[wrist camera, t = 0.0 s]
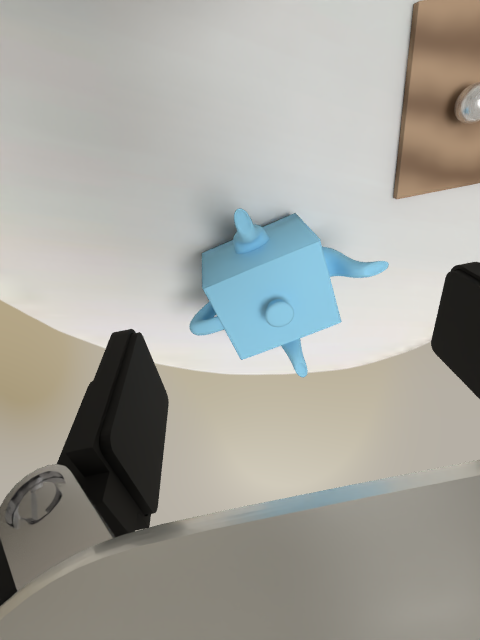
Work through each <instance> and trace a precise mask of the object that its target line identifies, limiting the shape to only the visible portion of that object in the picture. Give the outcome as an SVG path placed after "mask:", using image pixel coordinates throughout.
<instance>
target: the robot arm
mask: <svg viewBox="0 0 480 640" xmlns="http://www.w3.org/2000/svg"><path fill="white" fill-rule="evenodd" d="M431 346H432V349H433V351H434V352H435V354H436V355H437V356H438V357H439V358H440V359H441V360H442V361H443V362H444V363H445V364H446V365H447V366H448V367H449V368H450V369H451V370H452V371H453V372H454V373H455V374H456V375H457V376H458V377H459V378H460V379H461V380H462V381H463V382H464V383H465V384H466V385H467V386H468V388H470V390H472V391H473V393H474V394H475V395H476V396H477V397H478V398H479V399H480V263H479V262H472V263H467V264H462V265H456V266H454V267H453V268H452V269H451V272H449V273H448V274H447V275H446V278H445V283H444V287H443V292H442V296H441V301H440V305H439V309H438V314H437V318H436V323H435V327H434V332H433V336H432V340H431ZM167 414H168V396H167V393H166V390H165V388H164V385H163V383H162V381H161V378H160V376H159V374H158V371H157V369H156V366H155V364H154V362H153V359H152V357H151V354H150V352H149V350H148V347H147V345H146V343H145V340H144V338H143V336H142V334H141V333H140V332H139V333H135V331H134V330H133V329H129V330H124V331H119V332H114V333H112V335H111V337H110V340H109V342H108V345H107V347H106V350H105V352H104V355H103V357H102V360H101V363H100V365H99V368H98V370H97V373H96V375H95V378H94V380H93V381H92V382H91V383H90V384H89V386H88V388H87V391H86V393H85V396H84V398H83V400H82V403H81V406H80V408H79V410H78V413H77V415H76V418H75V420H74V423H73V425H72V428H71V430H70V433H69V435H68V438H67V440H66V442H65V445H64V447H63V450H62V453H61V455H60V457H59V460H58V462H57V464H55V465H47V466H45V467H42V468H39V469H37V470H35V471H34V472H32V473H30V474H29V475H27V476H26V477H24V478H23V479H22V480H21V481H20V482H18V483H17V484H16V485H15V486H14V488H13V489H12V490H11V491H10V492H9V493H8V495H7V496H6V497H5V499H4V501H3V503H2V504H1V506H0V640H480V460H477V461H472V462H468V463H462V464H457V465H452V466H447V467H441V468H437V469H431V470H426V471H421V472H415V473H411V474H405V475H400V476H395V477H390V478H385V479H380V480H375V481H369V482H365V483H359V484H354V485H349V486H344V487H339V488H334V489H329V490H324V491H319V492H314V493H309V494H304V495H299V496H294V497H289V498H285V499H279V500H274V501H269V502H264V503H259V504H255V505H249V506H245V507H239V508H234V509H229V510H225V511H220V512H216V513H212V514H207V515H202V516H197V517H193V518H188V519H184V520H179V521H175V522H170V523H166V524H161V525H157V526H154V527H150V528H149V525H150V517H151V514H152V513H155V512H156V511H157V507H158V499H159V489H160V480H161V471H162V470H161V469H162V460H163V451H164V442H165V432H166V423H167ZM145 528H146V529H145ZM140 529H143V530H140ZM135 530H139V531H135Z"/></svg>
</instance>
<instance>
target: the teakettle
mask: <svg viewBox="0 0 480 640" xmlns="http://www.w3.org/2000/svg"><path fill="white" fill-rule="evenodd" d="M234 221H235V226H236V229H237V232H236V233H235V235H234V238H233V240H231V241H229V242H227V243H224V244H222V245H220V246H217V247H215V248H213V249H210V250H208V251H206V252H203V253H202V288H203V290H204V292H205V294H206V296H207V297H208V299H209V302H208V303H207V304H206V305H205V306H204V307H203V308H202V309H201V310H200V311H199V312H198V313H197V314H196V315H195V316H194V318H193V319H192V321H191V323H190V330H191V332H192V333H193V334H195V335H207V334H211V333H215V332H218V331H221V330H224V329H225V331H226V333H227V335H228V337H229V338H230V340H231V342H232V344H233V346H234V348H235V350H236V352H237V353H238V355H239V357H240V359H241V360H243V359H246V358H248V357H251V356H254V355H257V354H259V353H262V352H265V351H267V350H270V349H273V348H276V347H278V346H282V348H283V349H284V351H285V352H286V354H287V355H288V357H289V359H290V360H291V362H292V365H293V367H294V369H295V371H296V373H297V374H298V375H299V376H300V377H305V376H306V375H307V366H306V363H305V360H304V357H303V353H302V349H301V342H300V338H302V337H305V336H307V335H310V334H312V333H315V332H318V331H320V330H323V329H325V328H328V327H331V326H333V325H336V324H338V323H340V322H341V318H340V314H339V311H338V307H337V303H336V299H335V295H334V292H333V288H332V284H331V280H330V277H332V276H346V277H353V278H364V277H370V276H374V275H377V274H379V273H381V272H383V271H384V270H385V269H387V267H388V265H389V264H388V263H387V262H385V261H376V262H359V261H355V260H353V259H351V258H349V257H347V256H345V255H343V254H342V253H340V252H338V251H336V250H334V249H331V248H327V247H322V246H321V242H320V239H319V238H318V237H317V236H316V234H315V233H314V232H313V231H312V230H311V229H310V228H309V227H308V226H307V225H306V224H305V223H304V222H303V221H302V220H301V219H300V217H299V216H298V215H297V214H296V213H294V214H292V215H290V216H287V217H285V218H282V219H280V220H278V221H275V222H273V223H271V224H268V225H266V226H264V227H261V226H259V225H256V224H253V223H252V220H251V218H250V217H249V215H248V214H247V212H246V211H245V210H243V209H237V210H236V211H235V214H234ZM216 314H217V317H214V316H215V315H216ZM213 317H214V318H213Z"/></svg>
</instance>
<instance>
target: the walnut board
mask: <svg viewBox="0 0 480 640" xmlns="http://www.w3.org/2000/svg"><path fill="white" fill-rule="evenodd" d="M477 82H480V0H424V1H419V2H417V3H415V4H414V7H413V16H412V26H411V35H410V44H409V54H408V63H407V73H406V82H405V92H404V101H403V110H402V120H401V129H400V139H399V148H398V157H397V167H396V176H395V186H394V195H393V198H395V199H400V198H405V197H411V196H416V195H421V194H426V193H431V192H436V191H441V190H446V189H452V188H457V187H462V186H467V185H472V184H477V183H480V121H477V122H474V123H463V122H461V121H459V120H458V119H457V118H456V116H455V113H454V106H455V102H456V100H457V98H458V96H459V95H460V94H461V92H462V91H463V90H464V89H465V88H467V87H468V86H470V85H472V84H474V83H477Z"/></svg>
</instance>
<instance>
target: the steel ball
mask: <svg viewBox="0 0 480 640" xmlns="http://www.w3.org/2000/svg"><path fill="white" fill-rule="evenodd" d="M454 113H455V116H456V118H457V119H458V120H459V121H461V122H463V123H474V122H477V121H480V82H477V83H474V84H472V85H470V86H468V87H467V88H465V89H464V90H463V91H462V92H461V94H460V95H459V96H458V98H457V100H456V102H455V106H454Z"/></svg>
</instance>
